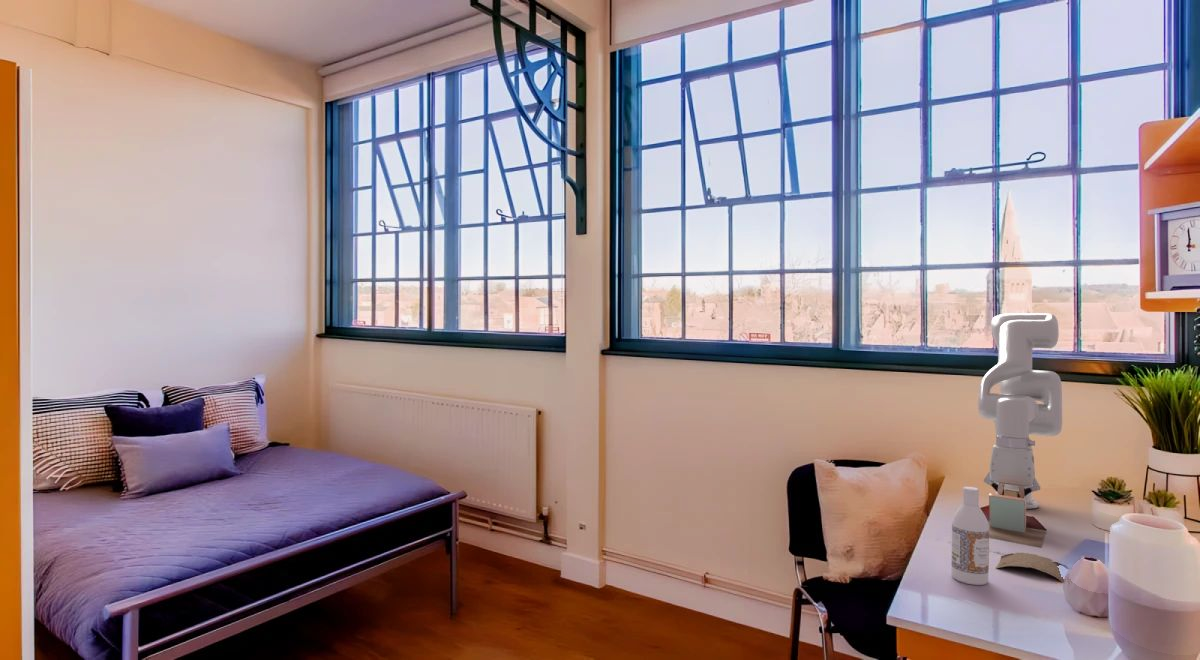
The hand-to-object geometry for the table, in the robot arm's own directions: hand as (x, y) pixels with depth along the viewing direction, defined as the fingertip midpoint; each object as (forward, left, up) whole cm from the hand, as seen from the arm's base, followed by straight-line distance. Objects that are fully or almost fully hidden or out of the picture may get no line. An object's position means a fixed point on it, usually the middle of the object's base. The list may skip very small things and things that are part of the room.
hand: (1011, 508), depth 171 cm
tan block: (+3, 0, 0) cm, 3 cm away
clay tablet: (+32, +7, -6) cm, 33 cm away
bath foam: (+48, -3, -5) cm, 48 cm away
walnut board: (+11, +1, -5) cm, 12 cm away
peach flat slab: (+8, 0, -3) cm, 9 cm away
